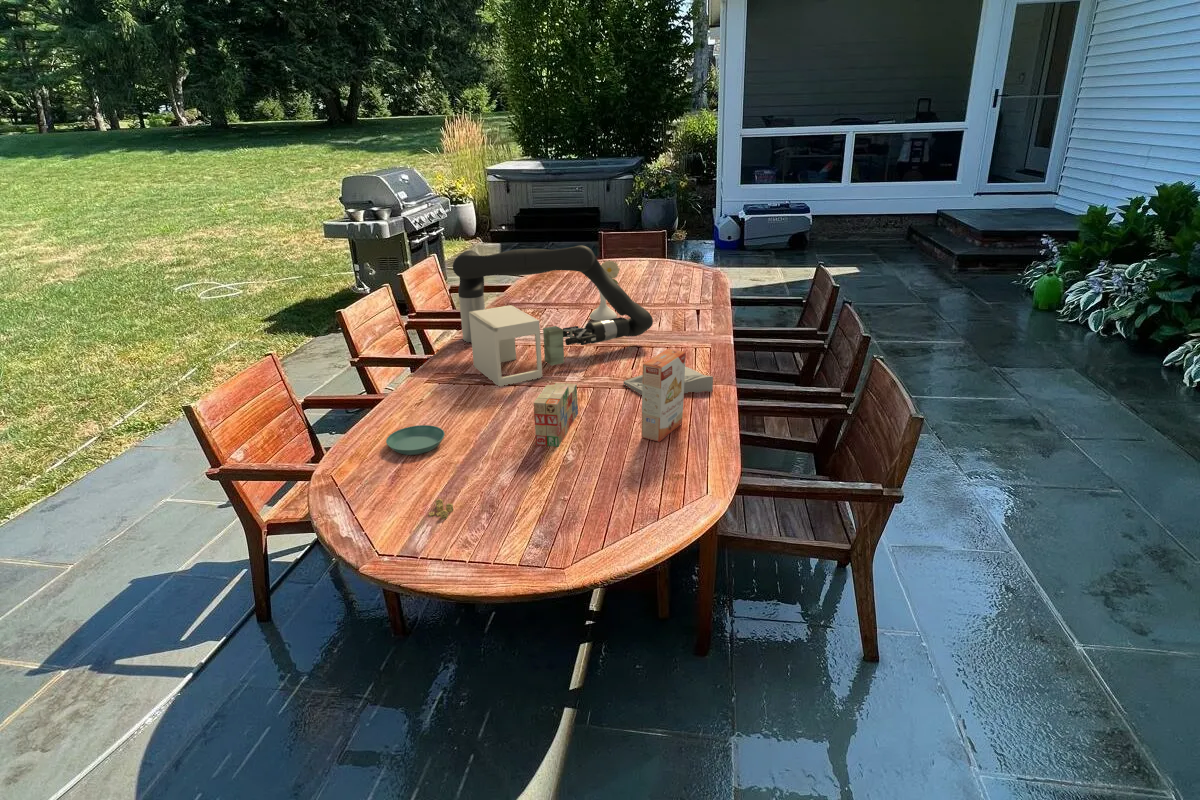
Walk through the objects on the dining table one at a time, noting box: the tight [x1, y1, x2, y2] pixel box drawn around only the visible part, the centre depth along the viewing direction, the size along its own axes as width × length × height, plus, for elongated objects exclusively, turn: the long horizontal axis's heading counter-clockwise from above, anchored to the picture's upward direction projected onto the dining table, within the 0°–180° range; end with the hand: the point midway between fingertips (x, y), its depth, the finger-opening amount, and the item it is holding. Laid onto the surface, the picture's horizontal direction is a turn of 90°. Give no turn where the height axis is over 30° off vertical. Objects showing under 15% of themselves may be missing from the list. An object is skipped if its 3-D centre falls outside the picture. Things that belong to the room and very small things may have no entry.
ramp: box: [623, 365, 714, 396], centre depth 207 cm, size 28×16×5 cm, turn 79°
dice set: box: [428, 498, 454, 520], centre depth 144 cm, size 5×5×2 cm
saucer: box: [385, 424, 446, 456], centre depth 174 cm, size 15×15×3 cm
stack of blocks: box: [533, 382, 579, 448], centre depth 180 cm, size 21×6×12 cm, turn 168°
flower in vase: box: [589, 260, 621, 322], centre depth 273 cm, size 13×11×25 cm
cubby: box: [469, 304, 543, 387], centre depth 220 cm, size 22×15×19 cm
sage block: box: [542, 325, 565, 366], centre depth 229 cm, size 5×5×12 cm
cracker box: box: [640, 348, 687, 443], centre depth 175 cm, size 14×6×21 cm, turn 148°
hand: (560, 338), depth 229 cm, fingers open, 8 cm apart
